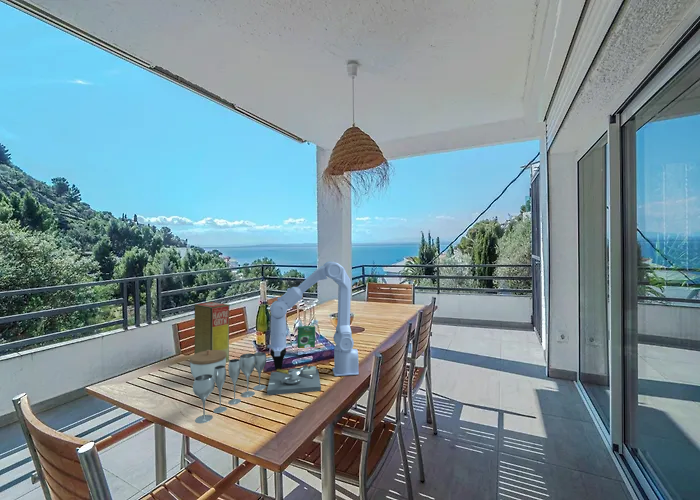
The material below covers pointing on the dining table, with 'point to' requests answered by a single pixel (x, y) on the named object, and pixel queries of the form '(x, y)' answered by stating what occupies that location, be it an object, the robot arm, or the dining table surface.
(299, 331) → the coffee box
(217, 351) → the lidded bowl
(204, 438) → the dining table surface
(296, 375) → the capstan
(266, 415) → the dining table surface
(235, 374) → the goblet set
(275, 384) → the levelling stand
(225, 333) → the food packaging
